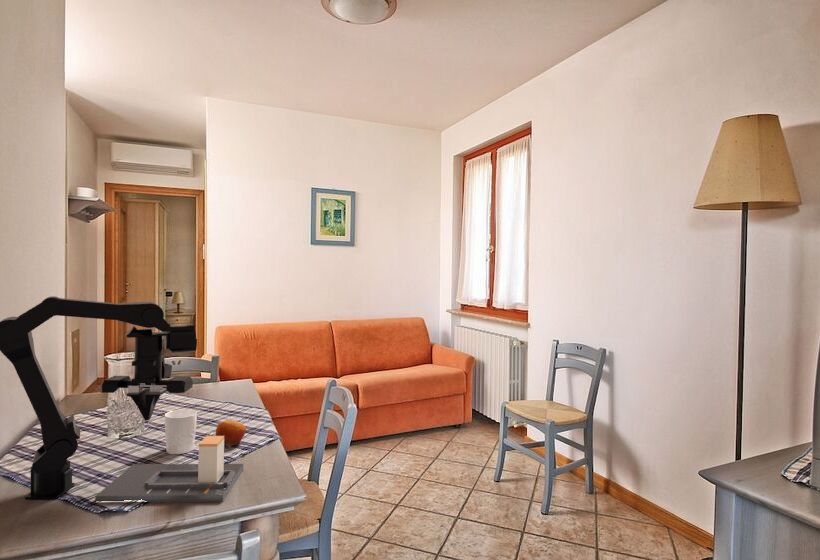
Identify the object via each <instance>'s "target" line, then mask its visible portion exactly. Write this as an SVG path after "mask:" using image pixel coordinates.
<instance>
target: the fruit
mask: <svg viewBox="0 0 820 560" xmlns="http://www.w3.org/2000/svg"><path fill="white" fill-rule="evenodd" d="M246 431H247V426H246V425H244V424H243V423H242V422H239V421H236V420H232V419H225V420H224V421H223V420H222V421H220V422H219V423H218V424H217V426H216V429H215V436H224V446H226V447H228V449H229V450H231V447H232V446H236V445H238V444H239V443H241V441H242V439H243V437H244V436H245V434H246Z"/></svg>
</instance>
